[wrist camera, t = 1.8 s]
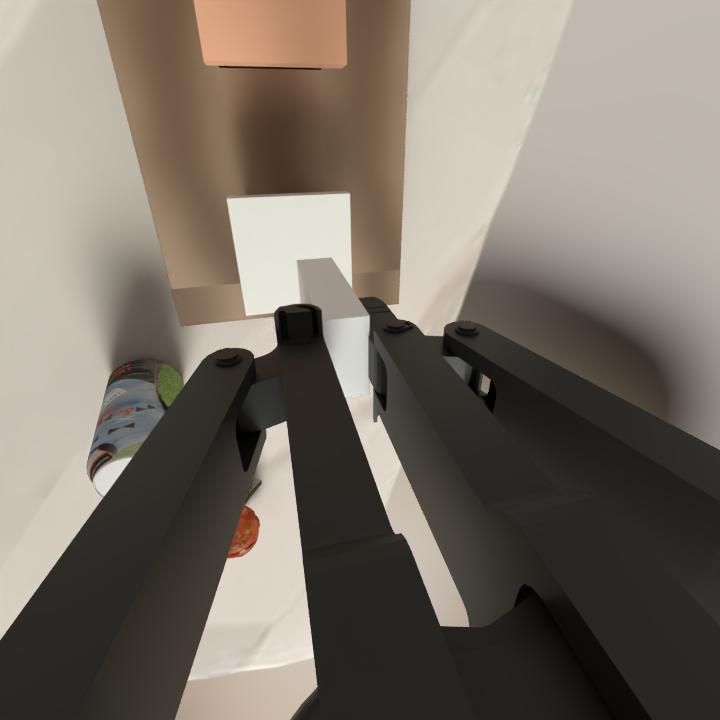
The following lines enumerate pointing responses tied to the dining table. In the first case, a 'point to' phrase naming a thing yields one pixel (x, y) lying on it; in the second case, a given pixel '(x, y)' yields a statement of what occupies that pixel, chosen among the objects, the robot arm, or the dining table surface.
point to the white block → (286, 242)
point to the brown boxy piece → (261, 142)
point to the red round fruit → (245, 531)
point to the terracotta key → (273, 33)
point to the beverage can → (129, 417)
